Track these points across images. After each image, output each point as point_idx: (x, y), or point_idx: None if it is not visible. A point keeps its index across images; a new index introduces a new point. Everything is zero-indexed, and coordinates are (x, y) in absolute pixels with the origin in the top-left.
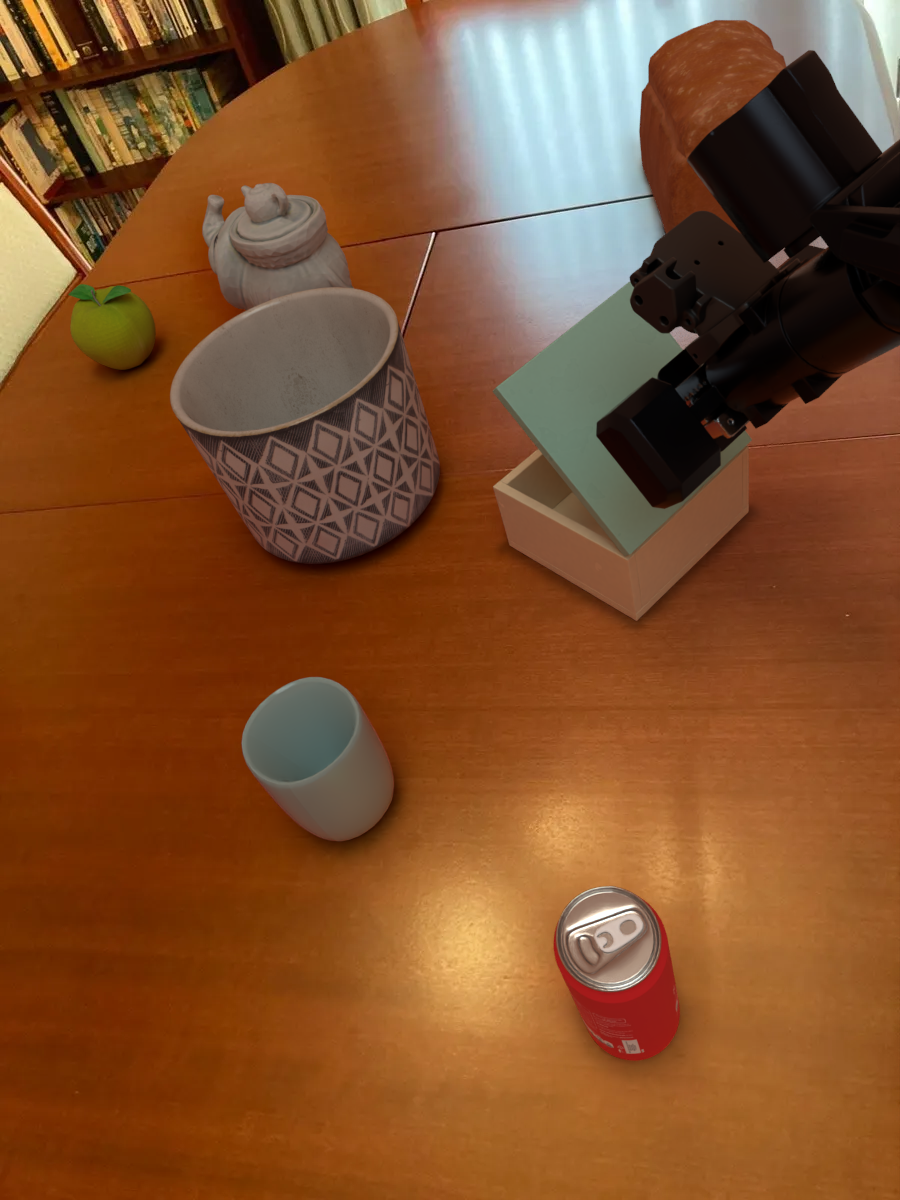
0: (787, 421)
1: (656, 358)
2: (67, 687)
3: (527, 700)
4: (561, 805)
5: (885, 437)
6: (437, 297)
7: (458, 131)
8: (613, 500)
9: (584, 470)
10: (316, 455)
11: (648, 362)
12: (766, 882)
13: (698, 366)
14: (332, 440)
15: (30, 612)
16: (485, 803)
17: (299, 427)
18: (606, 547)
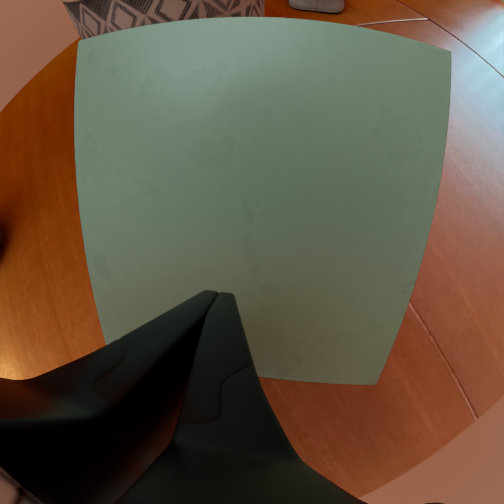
0: (463, 331)
1: (380, 188)
2: (38, 85)
3: (59, 306)
4: (15, 371)
5: (474, 418)
6: (392, 30)
7: (478, 16)
8: (120, 294)
9: (104, 233)
10: (85, 29)
11: (359, 181)
12: None
13: (28, 489)
14: (93, 22)
15: (76, 43)
16: (2, 323)
17: (73, 5)
18: None
